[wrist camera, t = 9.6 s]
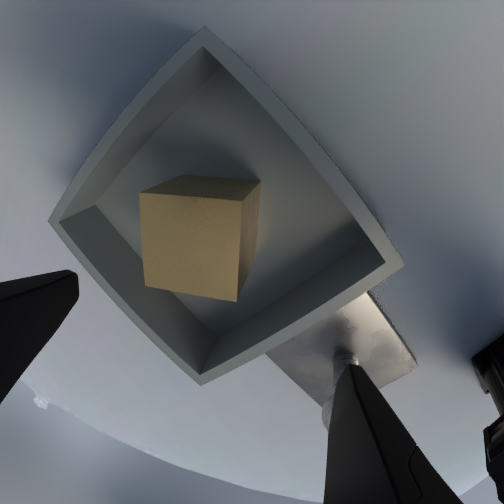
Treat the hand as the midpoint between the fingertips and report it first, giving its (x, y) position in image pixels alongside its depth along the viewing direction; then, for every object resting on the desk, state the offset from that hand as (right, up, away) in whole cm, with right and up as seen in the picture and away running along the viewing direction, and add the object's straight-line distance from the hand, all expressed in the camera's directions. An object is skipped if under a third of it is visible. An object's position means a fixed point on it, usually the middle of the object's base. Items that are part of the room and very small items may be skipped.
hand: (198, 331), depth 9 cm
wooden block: (-1, +5, +11) cm, 12 cm away
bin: (0, +5, +12) cm, 13 cm away
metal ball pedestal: (+9, -6, +14) cm, 18 cm away
